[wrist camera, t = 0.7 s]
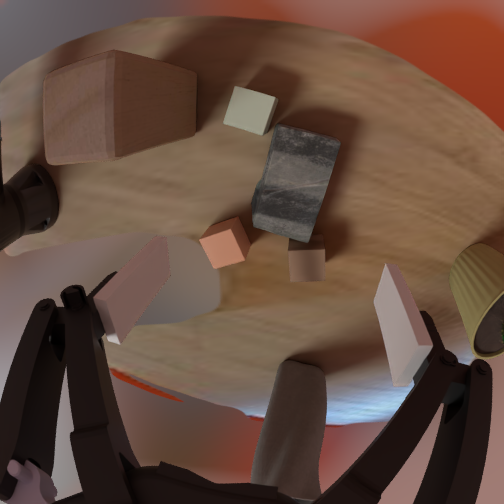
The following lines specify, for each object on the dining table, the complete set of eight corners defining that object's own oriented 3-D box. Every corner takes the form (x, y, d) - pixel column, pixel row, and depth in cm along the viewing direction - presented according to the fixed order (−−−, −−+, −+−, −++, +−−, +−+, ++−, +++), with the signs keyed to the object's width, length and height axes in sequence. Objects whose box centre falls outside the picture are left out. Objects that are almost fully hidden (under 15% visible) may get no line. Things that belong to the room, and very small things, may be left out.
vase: (298, 393, 60) (284, 510, 34) (259, 370, 58) (231, 497, 32) (338, 371, 55) (339, 503, 28) (300, 344, 52) (285, 493, 26)
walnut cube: (291, 264, 45) (290, 282, 40) (289, 235, 42) (288, 250, 38) (323, 263, 44) (325, 280, 39) (322, 234, 41) (325, 249, 37)
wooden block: (139, 78, 34) (40, 73, 16) (200, 70, 33) (116, 45, 15) (138, 139, 39) (43, 168, 21) (198, 137, 37) (116, 162, 20)
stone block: (249, 213, 42) (242, 227, 37) (273, 119, 35) (268, 119, 30) (307, 230, 42) (307, 246, 37) (336, 137, 35) (341, 141, 30)
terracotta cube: (222, 253, 46) (214, 269, 41) (209, 226, 44) (199, 239, 39) (251, 244, 44) (245, 260, 40) (238, 216, 42) (230, 228, 38)
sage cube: (232, 122, 36) (223, 123, 31) (243, 89, 33) (235, 85, 29) (267, 133, 36) (262, 135, 31) (278, 99, 33) (275, 97, 29)
